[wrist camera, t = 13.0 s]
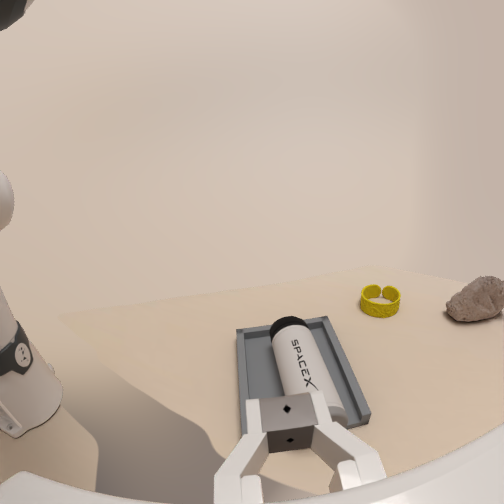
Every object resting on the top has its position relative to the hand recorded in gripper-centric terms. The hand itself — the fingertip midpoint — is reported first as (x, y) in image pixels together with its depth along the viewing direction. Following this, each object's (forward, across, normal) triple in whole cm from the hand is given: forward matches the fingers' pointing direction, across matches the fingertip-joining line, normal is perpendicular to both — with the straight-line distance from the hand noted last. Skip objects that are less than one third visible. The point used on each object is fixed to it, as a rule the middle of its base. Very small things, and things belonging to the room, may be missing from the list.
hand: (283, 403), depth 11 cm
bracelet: (+37, -24, +25) cm, 51 cm away
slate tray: (+23, -5, +25) cm, 34 cm away
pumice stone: (+27, -43, +24) cm, 56 cm away
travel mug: (+10, -6, +21) cm, 24 cm away
